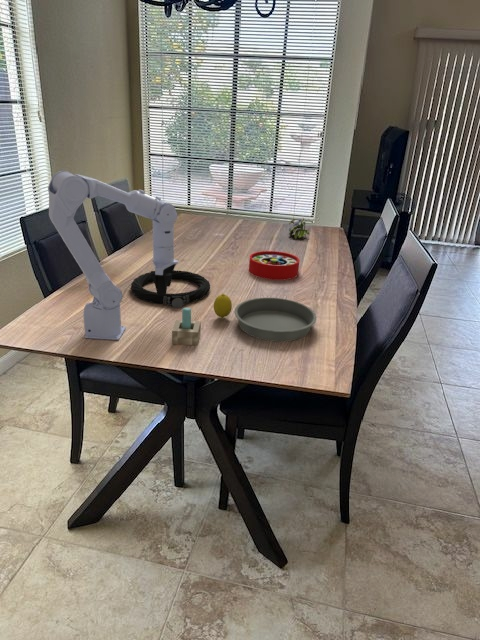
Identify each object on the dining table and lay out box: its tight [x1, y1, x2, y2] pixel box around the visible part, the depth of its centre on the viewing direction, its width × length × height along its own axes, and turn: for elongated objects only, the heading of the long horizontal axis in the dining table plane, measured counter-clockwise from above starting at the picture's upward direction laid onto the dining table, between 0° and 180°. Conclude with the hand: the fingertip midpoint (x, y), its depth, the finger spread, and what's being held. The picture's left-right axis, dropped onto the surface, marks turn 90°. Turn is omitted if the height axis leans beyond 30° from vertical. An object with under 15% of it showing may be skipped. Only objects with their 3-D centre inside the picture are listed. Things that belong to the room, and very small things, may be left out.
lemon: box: [213, 293, 233, 319], centre depth 141 cm, size 6×6×8 cm
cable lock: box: [130, 270, 211, 309], centre depth 161 cm, size 28×4×30 cm
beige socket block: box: [171, 319, 202, 346], centre depth 128 cm, size 7×7×4 cm
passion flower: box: [288, 218, 310, 240], centre depth 239 cm, size 11×11×12 cm
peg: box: [181, 307, 192, 329], centre depth 127 cm, size 2×2×9 cm
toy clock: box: [248, 250, 300, 281], centre depth 186 cm, size 20×6×20 cm
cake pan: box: [234, 297, 317, 342], centre depth 139 cm, size 25×25×4 cm
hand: (164, 290), depth 134 cm, fingers open, 7 cm apart
